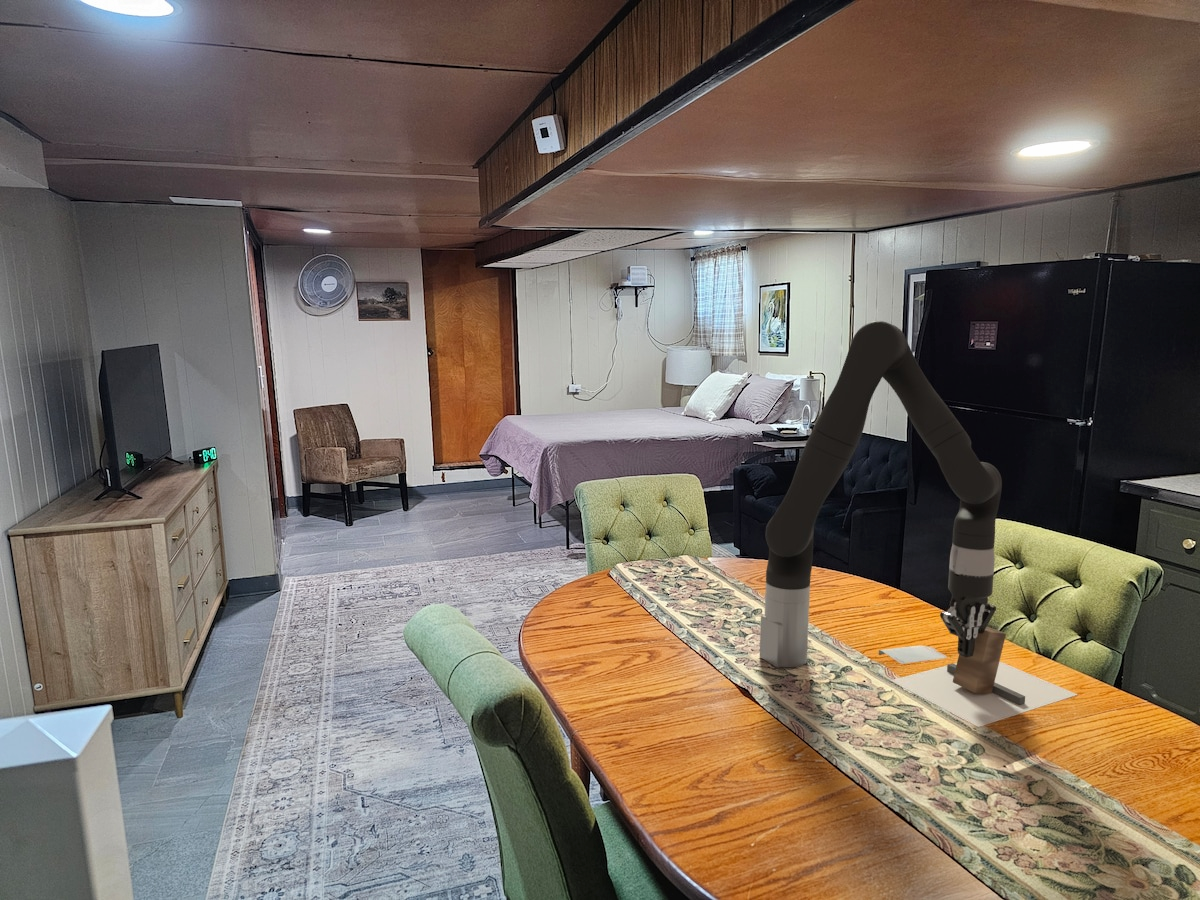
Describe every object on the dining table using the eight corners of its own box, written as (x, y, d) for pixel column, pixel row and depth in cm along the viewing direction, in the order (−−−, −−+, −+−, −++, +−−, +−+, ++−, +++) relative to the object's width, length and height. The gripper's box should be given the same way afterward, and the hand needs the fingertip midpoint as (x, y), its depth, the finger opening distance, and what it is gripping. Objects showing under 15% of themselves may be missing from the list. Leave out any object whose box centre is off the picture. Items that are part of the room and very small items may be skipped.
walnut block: (974, 692, 141) (989, 632, 141) (952, 682, 146) (966, 623, 145) (991, 693, 143) (1006, 633, 143) (969, 682, 148) (983, 624, 147)
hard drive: (902, 665, 156) (952, 658, 159) (878, 649, 164) (926, 642, 167) (902, 672, 156) (952, 665, 159) (878, 656, 164) (926, 649, 167)
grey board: (977, 732, 131) (978, 718, 131) (890, 685, 149) (890, 673, 149) (1077, 699, 143) (1078, 687, 143) (984, 659, 161) (985, 648, 160)
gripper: (978, 558, 146) (972, 642, 148) (929, 567, 140) (924, 654, 143) (1013, 569, 139) (1006, 656, 141) (964, 579, 133) (957, 669, 136)
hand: (965, 655), depth 142 cm, fingers closed
